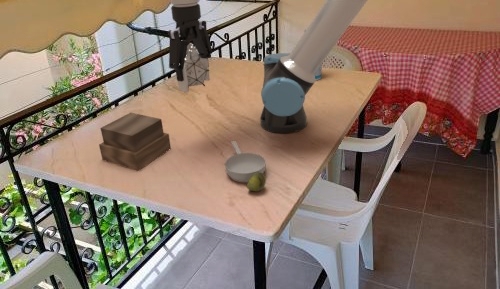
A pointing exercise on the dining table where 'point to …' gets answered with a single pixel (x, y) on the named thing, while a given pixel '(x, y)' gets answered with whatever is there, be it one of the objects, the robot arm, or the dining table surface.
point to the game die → (195, 72)
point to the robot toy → (191, 53)
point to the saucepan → (244, 165)
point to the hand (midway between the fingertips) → (195, 85)
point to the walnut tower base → (137, 156)
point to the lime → (256, 182)
